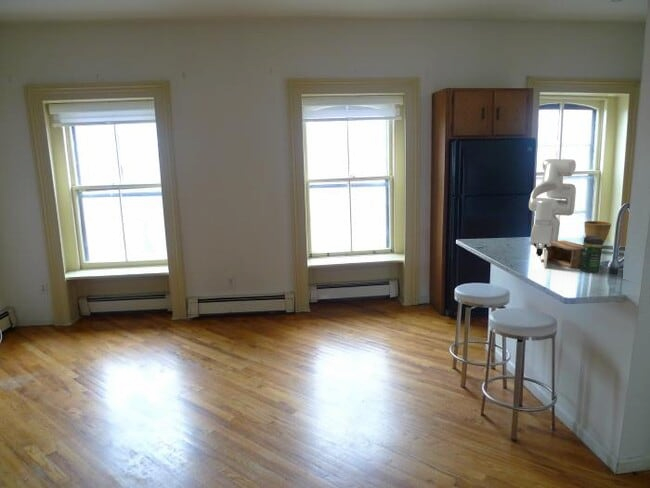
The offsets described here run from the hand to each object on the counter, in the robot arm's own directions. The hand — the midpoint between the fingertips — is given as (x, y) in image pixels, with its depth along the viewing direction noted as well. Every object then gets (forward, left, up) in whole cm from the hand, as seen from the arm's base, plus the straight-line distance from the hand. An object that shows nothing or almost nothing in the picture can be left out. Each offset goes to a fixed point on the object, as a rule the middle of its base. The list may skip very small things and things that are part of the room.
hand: (539, 255), depth 239 cm
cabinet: (-20, 0, -6) cm, 20 cm away
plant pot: (-71, -26, -6) cm, 75 cm away
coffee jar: (-19, +16, -6) cm, 25 cm away
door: (-5, -3, -5) cm, 8 cm away
